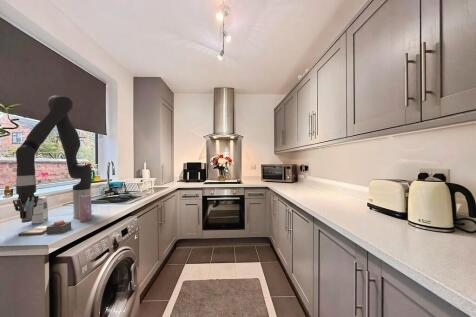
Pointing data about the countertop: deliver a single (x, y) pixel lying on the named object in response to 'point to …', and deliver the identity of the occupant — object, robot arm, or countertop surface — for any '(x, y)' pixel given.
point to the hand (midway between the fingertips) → (26, 217)
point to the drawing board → (34, 231)
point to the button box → (58, 228)
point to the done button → (58, 223)
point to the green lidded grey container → (28, 213)
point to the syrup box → (40, 211)
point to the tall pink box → (85, 208)
